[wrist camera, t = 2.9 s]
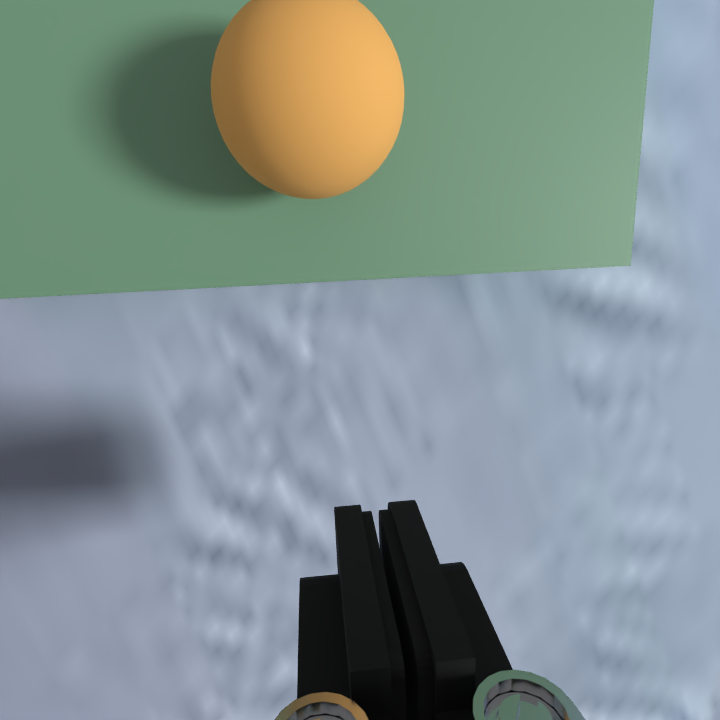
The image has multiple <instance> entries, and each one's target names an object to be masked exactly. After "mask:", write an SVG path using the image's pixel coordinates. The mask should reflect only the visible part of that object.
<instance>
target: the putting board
mask: <svg viewBox="0 0 720 720" xmlns="http://www.w3.org/2000/svg"><path fill="white" fill-rule="evenodd" d="M249 1H251V0H0V299H4V298H23V297H42V296H61V295H80V294H99V293H118V292H137V291H156V290H175V289H195V288H214V287H233V286H252V285H271V284H290V283H309V282H328V281H347V280H366V279H385V278H404V277H423V276H442V275H462V274H481V273H500V272H519V271H538V270H557V269H576V268H595V267H614V266H631V255H632V244H633V232H634V221H635V210H636V198H637V187H638V175H639V164H640V153H641V141H642V130H643V119H644V107H645V96H646V84H647V73H648V62H649V50H650V39H651V28H652V16H653V5H654V0H358V1H359V2H360V3H362V4H363V5H364V6H365V7H366V8H367V9H368V10H369V11H370V12H371V13H372V14H373V15H374V16H375V17H376V18H377V19H378V21H379V22H380V23H381V24H382V26H383V27H384V29H385V31H386V32H387V34H388V36H389V37H390V39H391V41H392V43H393V45H394V48H395V50H396V52H397V55H398V58H399V61H400V64H401V69H402V74H403V80H404V111H403V117H402V123H401V126H400V130H399V133H398V136H397V138H396V141H395V143H394V145H393V147H392V149H391V151H390V152H389V154H388V156H387V158H386V159H385V160H384V162H383V163H382V164H381V166H380V167H379V168H378V169H377V170H376V171H375V172H374V173H373V174H372V175H371V176H370V177H369V178H368V179H367V180H366V181H364V182H363V183H362V184H360V185H359V186H357V187H355V188H353V189H352V190H350V191H347V192H345V193H342V194H340V195H337V196H333V197H329V198H321V199H302V198H296V197H291V196H288V195H285V194H281V193H279V192H276V191H274V190H272V189H270V188H268V187H266V186H265V185H263V184H262V183H260V182H258V181H257V180H256V179H255V178H253V177H252V176H251V175H250V174H248V173H247V172H246V171H245V170H244V168H243V167H242V166H241V165H240V164H239V163H238V162H237V161H236V159H235V158H234V157H233V155H232V154H231V152H230V151H229V149H228V147H227V145H226V144H225V142H224V140H223V138H222V135H221V133H220V131H219V128H218V126H217V122H216V119H215V115H214V112H213V106H212V100H211V74H212V66H213V61H214V57H215V52H216V49H217V47H218V44H219V41H220V39H221V37H222V35H223V33H224V31H225V29H226V27H227V26H228V24H229V23H230V21H231V20H232V18H233V17H234V16H235V15H236V14H237V13H238V11H239V10H240V9H241V8H242V7H243V6H244V5H245V4H247V3H248V2H249Z"/></svg>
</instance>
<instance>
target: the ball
mask: <svg viewBox="0 0 720 720" xmlns="http://www.w3.org/2000/svg"><path fill="white" fill-rule="evenodd" d="M211 100H212V106H213V112H214V115H215V119H216V122H217V126H218V128H219V131H220V133H221V135H222V138H223V140H224V142H225V144H226V145H227V147H228V149H229V151H230V152H231V154H232V155H233V157H234V158H235V159H236V161H237V162H238V163H239V164H240V165H241V166H242V167H243V168H244V170H245V171H246V172H247V173H248V174H250V175H251V176H252V177H253V178H255V179H256V180H257V181H258V182H260V183H262V184H263V185H265V186H266V187H268V188H270V189H272V190H274V191H276V192H279V193H281V194H285V195H288V196H291V197H296V198H302V199H321V198H329V197H333V196H337V195H340V194H342V193H345V192H347V191H350V190H352V189H353V188H355V187H357V186H359V185H360V184H362V183H363V182H364V181H366V180H367V179H368V178H369V177H370V176H371V175H372V174H373V173H374V172H375V171H376V170H377V169H378V168H379V167H380V166H381V164H382V163H383V162H384V160H385V159H386V158H387V156H388V154H389V152H390V151H391V149H392V147H393V145H394V143H395V141H396V138H397V136H398V133H399V130H400V126H401V123H402V117H403V111H404V80H403V74H402V69H401V64H400V61H399V58H398V55H397V52H396V50H395V48H394V45H393V43H392V41H391V39H390V37H389V36H388V34H387V32H386V31H385V29H384V27H383V26H382V24H381V23H380V22H379V21H378V19H377V18H376V17H375V16H374V15H373V14H372V13H371V12H370V11H369V10H368V9H367V8H366V7H365V6H364V5H363V4H362V3H360V2H359V1H358V0H251V1H249V2H248V3H247V4H245V5H244V6H243V7H242V8H241V9H240V10H239V11H238V13H237V14H236V15H235V16H234V17H233V18H232V20H231V21H230V23H229V24H228V26H227V27H226V29H225V31H224V33H223V35H222V37H221V39H220V41H219V44H218V47H217V49H216V52H215V57H214V61H213V66H212V74H211Z"/></svg>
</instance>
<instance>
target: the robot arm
mask: <svg viewBox="0 0 720 720" xmlns="http://www.w3.org/2000/svg"><path fill="white" fill-rule="evenodd" d="M334 513H335V530H336V548H337V565H338V574H336V575H326V576H315V577H305V578H300V592H299V639H298V685H297V699H296V700H294V701H293V702H292V703H290V704H289V705H288V706H287V707H285V708H284V709H283V710H282V711H281V712H280V713H279V715H278V716H277V717H276V719H275V720H585V719H584V717H583V716H582V714H581V713H580V712H579V710H578V709H577V707H576V706H575V705H574V703H573V702H572V701H571V700H570V699H569V697H568V696H567V695H566V694H565V693H564V692H563V691H562V690H561V689H560V688H559V687H557V686H556V685H555V684H553V683H552V682H550V681H549V680H547V679H546V678H543V677H541V676H538V675H536V674H533V673H531V672H526V671H519V670H513V669H512V667H511V665H510V662H509V660H508V658H507V656H506V654H505V652H504V649H503V647H502V645H501V643H500V641H499V638H498V636H497V634H496V632H495V630H494V627H493V625H492V623H491V621H490V619H489V616H488V614H487V612H486V610H485V608H484V606H483V603H482V601H481V599H480V597H479V595H478V592H477V590H476V588H475V586H474V584H473V581H472V579H471V577H470V575H469V573H468V570H467V569H466V567H465V565H464V564H463V563H462V562H457V563H447V564H440V563H439V561H438V558H437V555H436V553H435V550H434V548H433V545H432V542H431V540H430V537H429V535H428V532H427V529H426V527H425V524H424V522H423V519H422V516H421V514H420V511H419V509H418V506H417V503H416V501H415V500H409V501H397V502H389V503H388V510H379V540H380V548H379V543H378V539H377V534H376V530H375V525H374V521H373V516H372V512H371V511H365V512H362V510H361V505H351V506H340V507H334Z"/></svg>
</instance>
